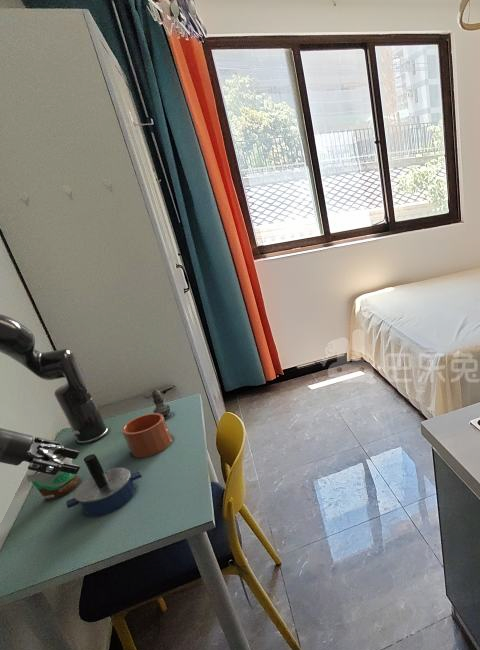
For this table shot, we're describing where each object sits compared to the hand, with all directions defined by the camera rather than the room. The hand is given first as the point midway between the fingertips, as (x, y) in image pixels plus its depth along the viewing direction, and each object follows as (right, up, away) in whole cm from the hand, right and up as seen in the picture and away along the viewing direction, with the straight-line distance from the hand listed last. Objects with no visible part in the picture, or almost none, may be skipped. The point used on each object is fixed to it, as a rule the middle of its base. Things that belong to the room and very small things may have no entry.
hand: (78, 462), depth 117 cm
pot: (+3, -2, +30) cm, 30 cm away
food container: (-13, -11, +14) cm, 22 cm away
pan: (+4, -12, +7) cm, 15 cm away
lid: (+3, -8, +5) cm, 10 cm away
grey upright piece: (-2, +6, +48) cm, 48 cm away
